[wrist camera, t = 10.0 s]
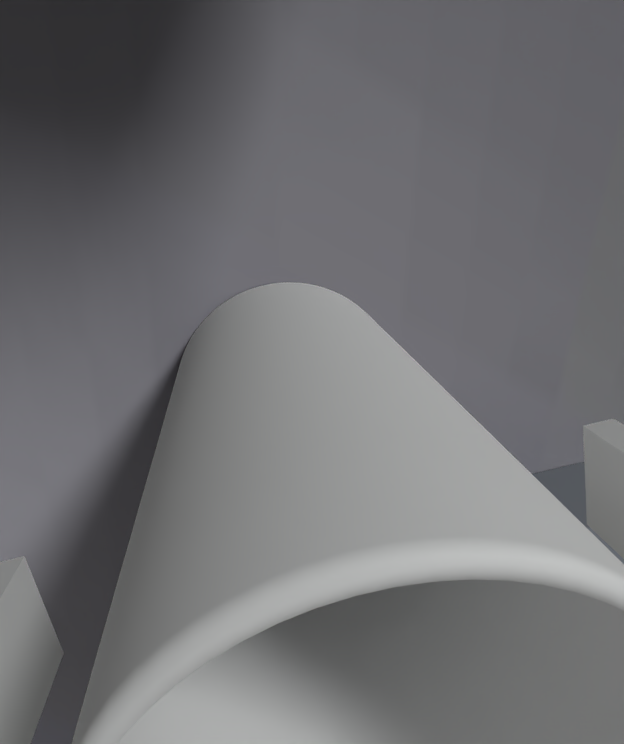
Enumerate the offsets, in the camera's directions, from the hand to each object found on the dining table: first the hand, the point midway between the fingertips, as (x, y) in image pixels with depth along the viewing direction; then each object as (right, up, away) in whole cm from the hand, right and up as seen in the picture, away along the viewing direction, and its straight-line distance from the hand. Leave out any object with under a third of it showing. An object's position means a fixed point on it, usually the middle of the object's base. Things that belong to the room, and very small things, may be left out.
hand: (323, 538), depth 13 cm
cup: (-1, +3, +8) cm, 9 cm away
